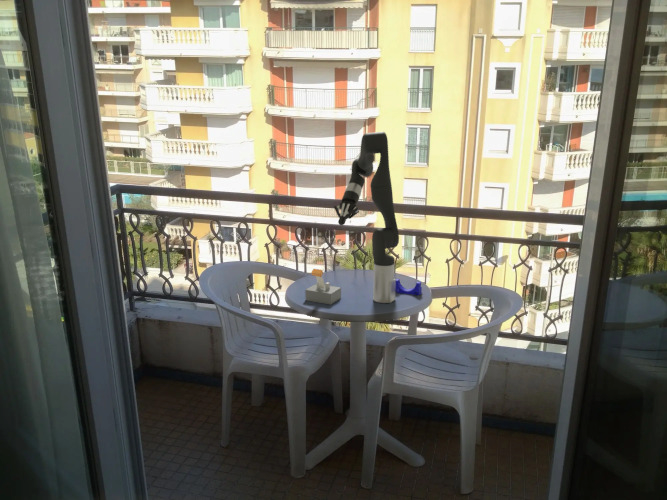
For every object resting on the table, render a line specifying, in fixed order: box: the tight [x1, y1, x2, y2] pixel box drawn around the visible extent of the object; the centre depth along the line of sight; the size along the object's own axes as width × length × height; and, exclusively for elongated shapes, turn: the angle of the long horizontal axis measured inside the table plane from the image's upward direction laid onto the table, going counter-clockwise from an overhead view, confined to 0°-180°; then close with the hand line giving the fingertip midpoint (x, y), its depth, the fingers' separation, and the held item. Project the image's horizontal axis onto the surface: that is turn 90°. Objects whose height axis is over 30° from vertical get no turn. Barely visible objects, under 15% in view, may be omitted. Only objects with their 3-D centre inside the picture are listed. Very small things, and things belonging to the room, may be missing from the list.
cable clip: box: [395, 278, 423, 296], centre depth 279 cm, size 12×4×6 cm, turn 65°
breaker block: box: [304, 281, 342, 305], centre depth 269 cm, size 13×10×8 cm
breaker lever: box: [311, 268, 325, 289], centre depth 265 cm, size 4×2×10 cm
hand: (340, 224), depth 276 cm, fingers closed
